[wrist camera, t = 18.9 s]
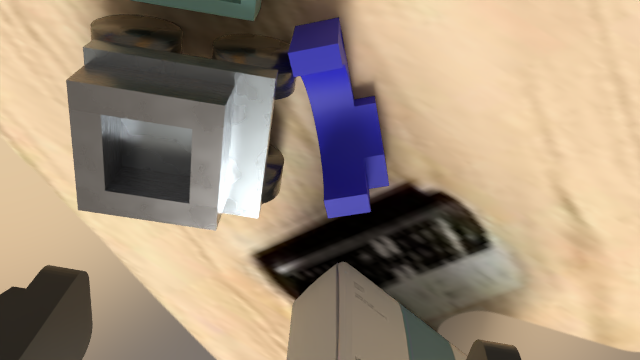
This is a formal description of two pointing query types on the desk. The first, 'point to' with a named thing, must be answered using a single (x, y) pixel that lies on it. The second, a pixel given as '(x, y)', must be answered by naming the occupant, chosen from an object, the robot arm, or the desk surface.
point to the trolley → (175, 123)
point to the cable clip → (339, 119)
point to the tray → (215, 7)
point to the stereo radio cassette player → (359, 323)
